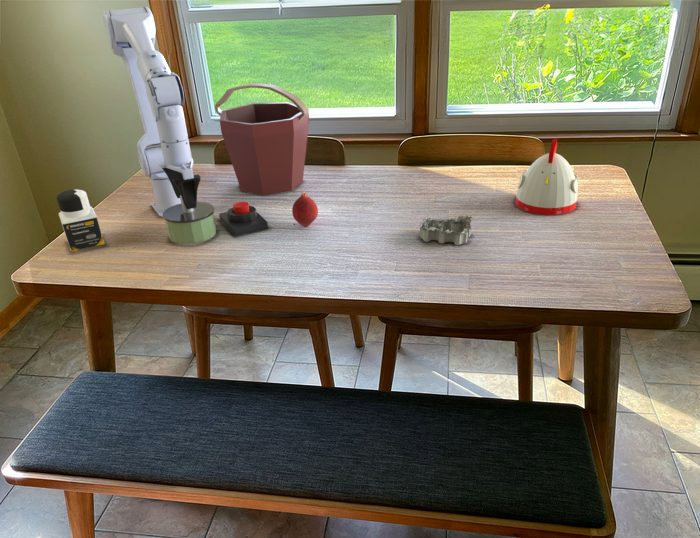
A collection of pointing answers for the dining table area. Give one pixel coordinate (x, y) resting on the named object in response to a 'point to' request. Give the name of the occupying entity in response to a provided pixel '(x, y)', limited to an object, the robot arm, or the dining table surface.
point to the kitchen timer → (548, 185)
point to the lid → (188, 212)
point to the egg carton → (446, 229)
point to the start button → (241, 208)
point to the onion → (304, 210)
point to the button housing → (243, 221)
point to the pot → (192, 231)
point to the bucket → (266, 141)
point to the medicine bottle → (79, 220)
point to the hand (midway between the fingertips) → (186, 202)
